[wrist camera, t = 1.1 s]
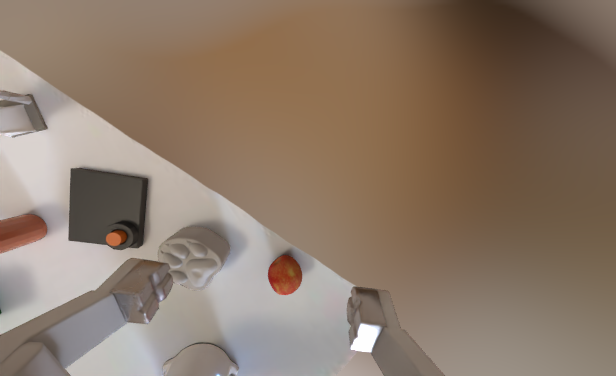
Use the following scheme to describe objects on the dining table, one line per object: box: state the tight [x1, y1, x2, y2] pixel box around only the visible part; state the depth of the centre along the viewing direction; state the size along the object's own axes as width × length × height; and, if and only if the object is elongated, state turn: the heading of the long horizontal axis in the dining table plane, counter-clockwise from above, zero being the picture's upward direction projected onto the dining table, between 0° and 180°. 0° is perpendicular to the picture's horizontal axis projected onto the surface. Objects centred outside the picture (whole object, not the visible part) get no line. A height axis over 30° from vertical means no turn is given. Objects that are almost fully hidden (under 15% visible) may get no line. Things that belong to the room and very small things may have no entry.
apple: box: [268, 255, 302, 295], centre depth 52 cm, size 8×8×8 cm
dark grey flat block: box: [69, 168, 148, 250], centre depth 48 cm, size 16×14×4 cm
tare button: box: [106, 230, 127, 246], centre depth 47 cm, size 3×3×2 cm
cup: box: [0, 214, 47, 254], centre depth 43 cm, size 6×6×10 cm
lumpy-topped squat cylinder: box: [158, 226, 230, 291], centre depth 49 cm, size 10×13×9 cm
